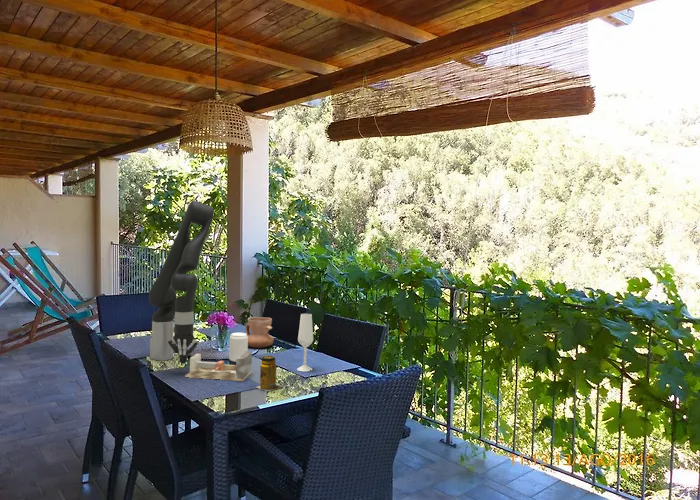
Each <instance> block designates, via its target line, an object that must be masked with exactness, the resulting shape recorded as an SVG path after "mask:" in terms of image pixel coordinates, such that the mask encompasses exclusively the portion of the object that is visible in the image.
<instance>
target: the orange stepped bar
mask: <svg viewBox="0 0 700 500" xmlns="http://www.w3.org/2000/svg"><path fill="white" fill-rule="evenodd" d="M224 365H225V360H219V361H217V363H216V369H215V371H221V370H222V369H224Z"/></svg>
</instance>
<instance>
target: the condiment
mask: <svg viewBox="0 0 700 500" xmlns="http://www.w3.org/2000/svg"><path fill="white" fill-rule="evenodd" d="M259 368H260V373H259V374H260V375H259V379H260V380H259V386H256V388H257V389H259V390H261V391H262V390H263V391H265V392H270V391H274V390H277V389H280V388H283V387H284V385H280V384H277V363H276V357H275V356H273V355H264V356H262V357H261V363H260V367H259Z"/></svg>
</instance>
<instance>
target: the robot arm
mask: <svg viewBox="0 0 700 500" xmlns="http://www.w3.org/2000/svg"><path fill="white" fill-rule="evenodd" d="M214 215H215V209H214V207H212V206H210V205H208V204H205V203H202V202H199V201H196V200H191V202H189V204H188V205H187V207H186V211H185V213H184V216H183V219H182V221H181V225H180V227H179V230H178V232H177V234H176V237H175V239H174V240H173V243H172V245H171V247H170V249H169V251H168V253H167V256H166V259H165V261H164V263H163V265H162V267H161V269H160V272H159V274H158V275H157V277H156V279H155V281H154V282H153V284H152V286H151V288H150V289H149V293H148V301H149V304H150V305H151V306H153V307H158V309H157V310H156V311H155V312H154V313H153V314H152V316H151V317H152V319H151V325H152V326H151V337H150V339H149V359H151V360H155V361H168V360H171V359H173V358H174V353H175V354H178V355H179V363H180V365H185V364H187V362H188V355H190V354H191V353H192V352H193V351H194V350H195V349H196V348H197V346H199V344H200V342H199V341H197V340H196V339H195V336H194V323H195V322H194V321H195V319H194V299H195V296H196V295H195V294H196V291H197V289H198V285H199V279H198V277H197V276H196V275H195V274H191V273H189V272H192V271H195V270H197V268H198V266H199V260H200V257H201V253H202V250H203V247H204V243H205V241H206V238H207V236H208V234H209V231H210V228H211V225H212V223H213V219H214ZM191 223H193V224H196V225H198V226H201V228H200V230H199V232H198V233H197V234H196V235H195V236H194V237H193V238H192V239H191V236H190V226H191ZM177 291H179V292H185V295H183V296H178V297H177Z"/></svg>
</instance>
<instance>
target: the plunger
mask: <svg viewBox="0 0 700 500" xmlns="http://www.w3.org/2000/svg"><path fill="white" fill-rule="evenodd" d="M217 362H218V361H217ZM217 362H215V361H202V353H195V354H194V355H192V356H191V357H190V358H189V371H190V370H199V369H200V368H215V369H216V363H217Z"/></svg>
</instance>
